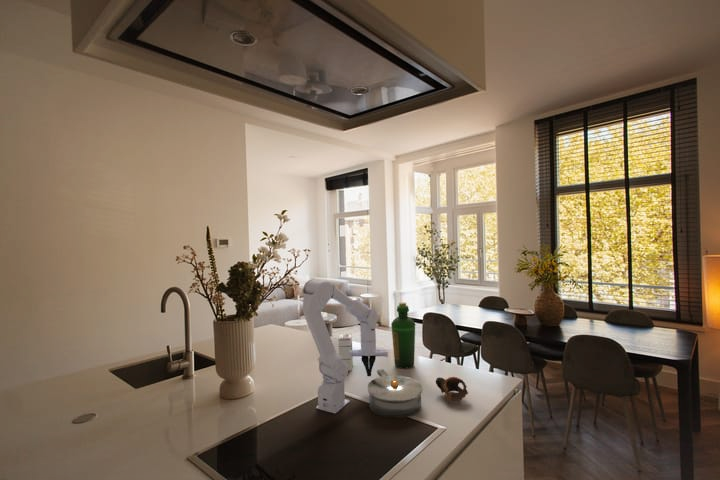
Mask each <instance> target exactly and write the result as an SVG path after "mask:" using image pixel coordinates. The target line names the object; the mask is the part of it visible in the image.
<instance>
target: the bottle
mask: <svg viewBox="0 0 720 480" xmlns="http://www.w3.org/2000/svg"><path fill="white" fill-rule="evenodd" d="M398 304H399V305H397V307H396V312H397V317H396V318H394V319H393V320H392V322H391V324H390V325H391V335H392V336H391V337H392V348H393V359H394V366H395V367H396V368H399V369H405V370H406V369H411V368H413V367H414V366H415V351H416V349H415V348H416V346H415V345H416V322H415V321H414V320H413V319H412V318H411V317H409V315H408V314H409V312H410V310H409V305H408V304H407V303H406V302H398Z"/></svg>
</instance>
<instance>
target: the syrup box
mask: <svg viewBox="0 0 720 480" xmlns="http://www.w3.org/2000/svg"><path fill="white" fill-rule="evenodd" d="M352 337H353V336H352V333H350V334H349V333H343V334H339V335H338V338H337V340H338V341H337V342H338V344H337V345H338V354H339V355H340V356H341V358H342V360H343V362H344V363H346V364H347V366H348V372H349V371H353V367H354V359H353V358H354V356H352V357H349V352H350V350H353V338H352Z"/></svg>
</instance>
